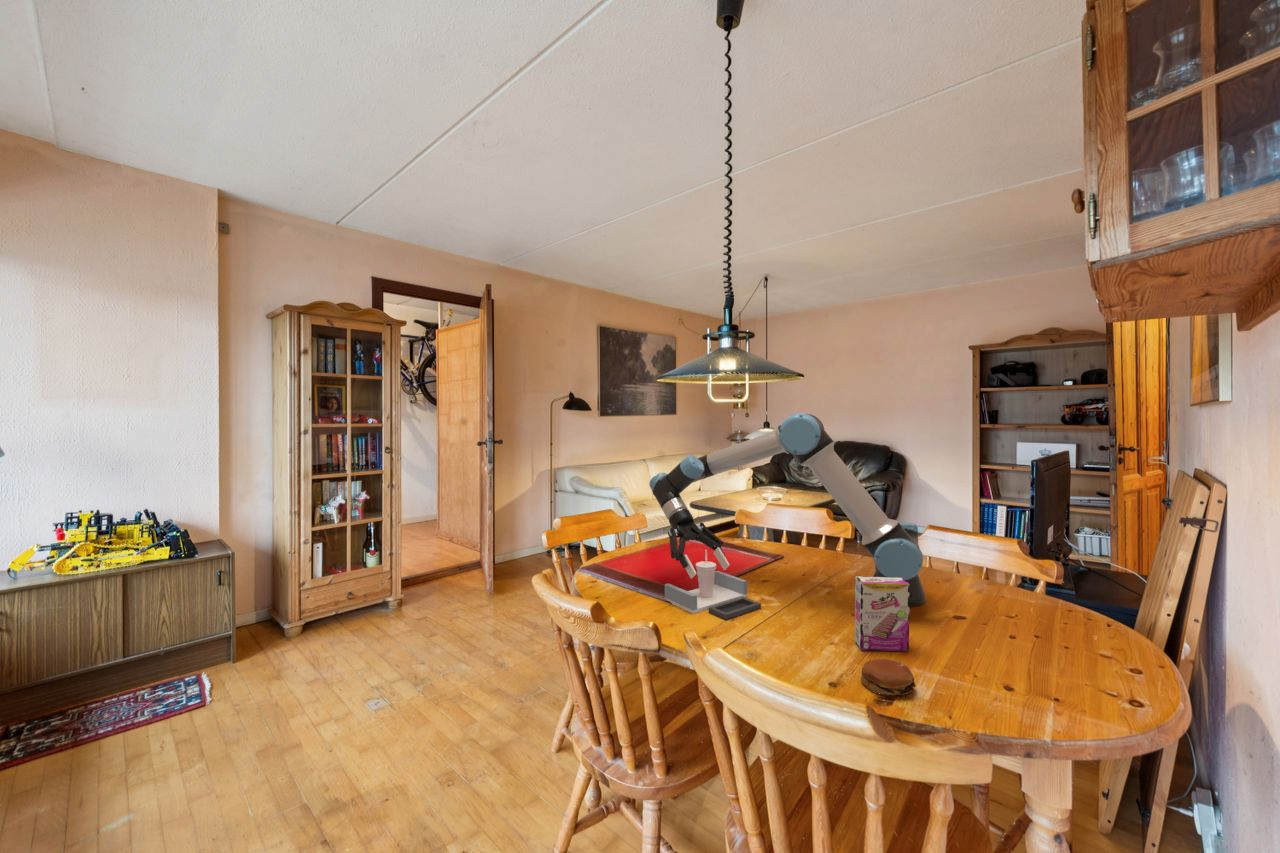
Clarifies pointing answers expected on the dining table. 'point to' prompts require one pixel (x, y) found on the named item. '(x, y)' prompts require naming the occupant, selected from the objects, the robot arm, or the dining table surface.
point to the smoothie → (706, 577)
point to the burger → (887, 677)
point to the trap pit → (734, 608)
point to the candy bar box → (882, 613)
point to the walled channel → (723, 592)
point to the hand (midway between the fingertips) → (710, 571)
